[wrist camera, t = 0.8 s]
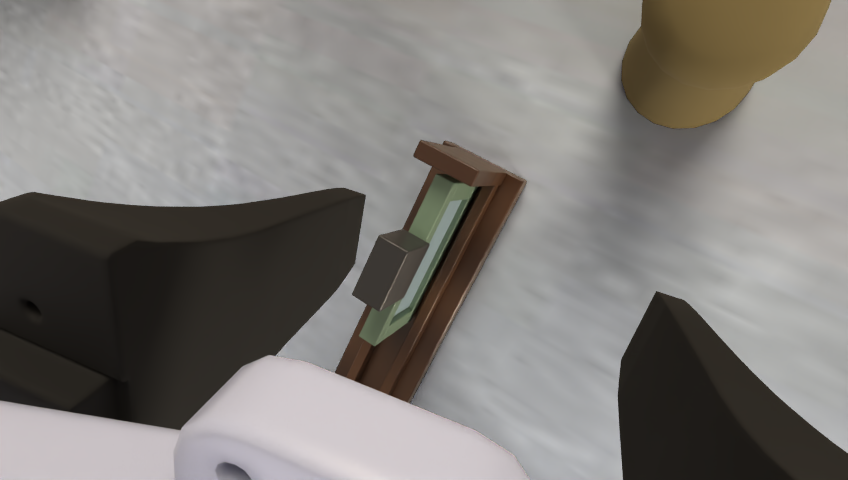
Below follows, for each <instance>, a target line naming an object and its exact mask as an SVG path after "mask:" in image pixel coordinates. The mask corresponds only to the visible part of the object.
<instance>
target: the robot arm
mask: <svg viewBox="0 0 848 480" xmlns="http://www.w3.org/2000/svg"><path fill="white" fill-rule="evenodd" d="M365 197H366V195H364V194H361V193H358V192H355V191H352V190H349V189H346V188H333V189H326V190H320V191H315V192H309V193H304V194H299V195H294V196H288V197H283V198H277V199H270V200H264V201H257V202H250V203H243V204H234V205H222V206H205V207H155V206H138V205H125V204H114V203H104V202H95V201H88V200H81V199H74V198H68V197H61V196H55V195H48V194H42V193H37V192H30V193H25V194H22V195H19V196H16V197H13V198H10V199H7V200H4V201H1V202H0V480H530V478H529V477H528V475H527V474H526V472H525V471H524V469H523V468H522V466H521V464H520V463H519V461H518V460H517V458H516V457H515V456H514V455H513V454H512V453H510V452H509V451H507V450H505V449H504V448H502V447H501V446H499V445H498V444H496V443H495V442H493V441H492V440H490V439H488V438H487V437H485V436H484V435H482V434H481V433H479V432H478V431H476V430H474V429H471V428H469V427H466V426H464V425H461V424H459V423H456V422H454V421H451V420H449V419H447V418H444V417H442V416H439V415H437V414H434V413H432V412H429V411H427V410H424V409H422V408H419V407H417V406H415V405H412V404H410V403H407V402H405V401H402V400H400V399H397V398H395V397H392V396H390V395H388V394H385V393H383V392H380V391H378V390H375V389H373V388H370V387H368V386H365V385H363V384H360V383H358V382H356V381H353V380H351V379H348V378H346V377H343V376H341V375H338V374H336V373H333V372H331V371H328V370H326V369H324V368H321V367H319V366H316V365H314V364H311V363H309V362H306V361H300V360H294V359H289V358H283V357H277V356H275V355H276V354H277V353H278V352H279V351H280V350H281V349H282V347H283V346H284V345H285V344H286V343H287V342H288V341H289V340H290V339H291V338H292V337H293V336H294V335H295V334H296V333H297V332H298V330H299V329H300V328H301V327H302V326H303V325H304V324H305V323H306V322H307V321H308V320H309V319H310V318H311V317H312V316H313V315H314V314H315V313H316V312H317V311H318V310H319V309H320V307H321V306H322V305H323V304H324V303H325V302H326V301H327V300H328V299H329V298H330V297H331V296H332V295H333V293H334V292H335V291H336V290H337V289H338V287H339V286H340V285H341V283H342V282H343V280H344V279H345V277H346V276H347V274H348V273H349V271H350V270H351V268H352V267H353V265H354V264H355V259H356V253H357V247H358V241H359V234H360V228H361V222H362V216H363V209H364V203H365ZM618 408H619V426H620V440H621V455H622V470H623V480H848V453H846V452H845V451H844V450H842V449H841V448H840V447H838V446H837V445H836V444H834V443H833V442H832V441H830V440H829V439H828V438H826V437H825V436H824V435H823V434H821V433H820V432H819V431H817V430H816V429H815V428H814V427H813V426H811V425H810V424H809V423H808V422H807V421H805V420H804V419H803V418H802V417H801V416H800V415H798V414H797V413H796V412H795V411H794V410H792V409H791V408H790V407H789V406H788V405H787V404H785V403H784V402H783V401H782V400H781V399H780V398H779V397H778V396H777V395H775V394H774V393H773V392H772V391H771V390H770V389H769V388H768V387H767V386H766V385H765V384H764V383H763V382H762V381H761V380H760V379H759V378H758V377H757V376H756V375H755V374H754V373H753V372H752V371H751V370H750V369H749V368H748V367H747V366H746V365H745V364H744V363H743V362H742V361H741V360H740V359H739V358H738V357H737V356H736V355H735V354H734V352H733V351H732V350H731V349H730V348H729V347H728V346H727V345H726V344H725V343H724V342H723V340H722V339H721V338H720V337H719V336H718V335H717V334H716V333H715V332H714V330H713V329H712V328H711V327H710V326H709V325H708V324H707V323H706V322H705V320H704V319H703V318H702V317H701V316H700V315H699V314H698V313H697V312H696V311H695V310H694V309H693V308H692V307H691V306H690V305H689V304H688V303H687V302H686V301H684V300H682V299H679V298H675V297H672V296H669V295H666V294H663V293H660V292H657V291H656V293H655V295H654V297H653V299H652V301H651V303H650V304H649V306H648V308H647V310H646V312H645V314H644V316H643V318H642V320H641V322H640V324H639V326H638V328H637V330H636V332H635V334H634V336H633V338H632V340H631V342H630V344H629V345H628V347H627V349H626V351H625V353H624V355H623V357H622V359H621V368H620V377H619V388H618Z"/></svg>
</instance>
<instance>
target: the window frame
mask: <svg viewBox="0 0 848 480" xmlns="http://www.w3.org/2000/svg"><path fill="white" fill-rule="evenodd" d="M414 157H415V158H417V159H419V160H421V161H423V162H425V163H426V164H428V165H430V166H432V168H431V170H430V172H429V174H428V176H427V178H426V181H425V183H424V185H423V187H422V189H421V191H420V193H419V195H418V197H417V200H416V202H415V204H414V206H413V208H412V210H411V212H410V214H409V217H408V219H407V221H406V223H405V225H404V227H403V229H405V230H406V231H409V229H410V227H411V225H412V223H413V221H414V219H415V217H416V215H417V213H418V210H419V208H420V206H421V204H422V202H423V200H424V198H425V196H426V194H427V192H428V189H429V187H430V185H431V183H432V181H433V179H434V177H435V175H436V174H447V175H449V176H451V177H453V178H455V179H457V180H459V181H460V182H462V183H464V184H466V185H468V186H470V187H478V186H479V187H478V189H477V191H476V193H475V195H474V197H473V199H472V201H471V203H470V205H469V207H468V208H467V210H466V212H465V214H464V216H463V218H462V220H461V222H460V224H459V226H458V228H457V230H456V232H455V234H454V236H453V238H452V240H451V242H450V244H449V246H448V248H447V250H446V252H445V254H444V256H443V258H442V260H441V262H440V264H439V266H438V268H437V270H436V272H435V274H434V276H433V278H432V280H431V282H430V284H429V286H428V288H427V290H426V292H425V294H424V296H423V298H422V300H421V302H420V304H419V306H418V308H417V310H416V312H415V314H414V316H413V318H412V320H411V321H410V322H408V323H407V324H405V325H404V326H402V327H401V328H400V329H398V330H397V331H395V332H394V333H393V334H391V335H390V336H388V337H387V338H386V339H384V340H383V341H381V342H380V343H379V344H377V345H376V346H373V345H372V344H370V343H368V342H367V341H365V340H364V339H362V338H361V337H359V334H360V332H361V330H362V328H363V326H364V324H365V322H366V320H367V318H368V316H369V313H370V311H371V309H372V307H371V306H369V305H367V306H366V308H365V310H364V312H363V314H362V316H361V318H360V320H359V322H358V325H357V327H356V329H355V331H354V333H353V335H352V337H351V339H350V342H349V344H348V346H347V348H346V350H345V352H344V354H343V356H342V359H341V361H340V363H339V365H338V367H337V369H336V371H335V373H336V374H338V375H341V376H343V377H346V378H348V379H351V380H353V381H356V382H358V383H360V384H363V385H365V386H368V387H370V388H373V389H375V390H378V391H380V392H383V393H385V394H388V395H390V396H392V397H395V398H397V399H400V400H402V401H405V402H407V403H410V402H411V400H412V398H413V396H414V394H415V393H416V391H417V389H418V387H419V385H420V383H421V381H422V379H423V377H424V376H425V374H426V372H427V370H428V368H429V366H430V364H431V362H432V360H433V359H434V357H435V355H436V353H437V351H438V349H439V347H440V345H441V343H442V342H443V340H444V338H445V336H446V334H447V332H448V330H449V328H450V326H451V325H452V323H453V321H454V319H455V317H456V315H457V313H458V311H459V309H460V307H461V306H462V304H463V302H464V300H465V298H466V296H467V294H468V292H469V290H470V289H471V287H472V285H473V283H474V281H475V279H476V277H477V275H478V273H479V272H480V270H481V268H482V266H483V264H484V262H485V260H486V258H487V256H488V255H489V253H490V251H491V249H492V247H493V245H494V243H495V241H496V239H497V238H498V236H499V234H500V232H501V230H502V228H503V226H504V224H505V222H506V221H507V219H508V217H509V215H510V213H511V211H512V209H513V207H514V205H515V204H516V202H517V200H518V198H519V196H520V194H521V192H522V190H523V188H524V186H525V185H526V183H527V181H526V180H525V179H523V178H521V177H519V176H517V175H515V174H513V173H511V172H509V171H507V170H505V169H503V168H501V167H499V166H497V165H495V164H493V163H491V162H489V161H487V160H485V159H483V158H481V157H479V156H477V155H476V154H474V153H472V152H470V151H468V150H466V149H464V148H462V147H460V146H458V145H456V144H454V143H452V142H449V141H444V142H443V144H437V143H432V142H427V141H423V140H421V141H420V142H419V144H418V146H417V148H416V151H415V153H414ZM403 229H402V230H403Z"/></svg>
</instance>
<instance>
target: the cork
mask: <svg viewBox="0 0 848 480" xmlns="http://www.w3.org/2000/svg"><path fill="white" fill-rule="evenodd" d="M830 3H831V0H643V3H642V20H641V27H640V28H639V30H638V31H637V32H636V34H635V35H634V36H633V38H632V39H631V40H630V42H629V44H628V47H627V50H626V52H625V55H624V58H623V60H622V83H623V87H624V90H625V93H626V97H627V99H628V100H629V101H630V103H631V104H632V105H633V107H634V108H635V109H636V111H637V112H638V113H639V114H641V115H642V116H644V117H645V118H647V119H648V120H650V121H651V122H653V123H655V124H659V125H662V126H666V127H669V128H673V129H674V128H696V127H699V126H702V125H705V124H708V123H711V122H714V121H717V120H718V119H720V118H721V117H723V116H724V115H726V114H727V113H729V112H730V111H732V110H733V109H735V107H736V106H737V105H738V104H739V103H740V102H741V100H742V99H743V98H744V97H745V96H746V95H747V93H748V92H749V91H750V89H751V88H752V86H753V84H754V83H755V82H757V81H760V80H763V79H765V78H767V77H769V76H770V75H772V74H773V73H775V72H776V71H778V70H779V69H781V68H782V67H784V66H785V65H787V64H788V63H790V62H791V61H793V60H794V59H796V58H797V57H798V55H799V54H800V53H801V52H802V51H803V50H804V48H805V47H806V46H807V45H808V44H809V43H810V42H811V40H812V39H813V38H814V37H815V36H816V35H817V32H818V30H819V28H820V26H821V24H822V21H823V19H824V17H825V15H826V12H827V10H828V8H829V5H830Z"/></svg>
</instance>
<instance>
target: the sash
mask: <svg viewBox="0 0 848 480" xmlns="http://www.w3.org/2000/svg"><path fill="white" fill-rule="evenodd" d="M478 187H479V186H478ZM478 187H470V186H468V185H466V184H464V183H462V182H460V181H459V180H457V179H455V178H453V177H451V176H449V175H447V174H436V175H435V177H434V179H433V181H432V183H431V185H430V187H429V189H428V192H427V194H426V196H425V198H424V200H423V202H422V204H421V206H420V208H419V210H418V213H417V215H416V217H415V219H414V221H413V223H412V225H411V227H410V229H409V231H406V230H405V229H403V230H399V231H394V232H390V233H386V234H382V235H379V236H378V239H377V241H376V243H375V245H374V247H373V250H372V252H371V254H370V256H369V258H368V260H367V263H366V265H365V267H364V269H363V271H362V273H361V276H360V278H359V280H358V282H357V284H356V286H355V289H354V291H353V293H352V295H353V296H355V297H356V298H358V299H359V300H361V301H363V302H364V303H366V304H367V305H369V306H371V307H372V309H371V311H370V313H369V316H368V318H367V320H366V322H365V324H364V326H363V328H362V330H361V332H360V334H359V337H361V338H362V339H364V340H365V341H367V342H368V343H370V344H372V345H373V346H376V345H377V344H379V343H380V342H381V341H383V340H384V339H386V338H387V337H388V336H390V335H391V334H393V333H394V332H395V331H397V330H398V329H400V328H401V327H402V326H404V325H405V324H407V323H408V322H410V321H411V320H412V318H413V316H414V314H415V312H416V310H417V308H418V306H419V304H420V302H421V300H422V298H423V296H424V294H425V292H426V290H427V288H428V286H429V284H430V282H431V280H432V278H433V276H434V274H435V272H436V270H437V268H438V266H439V264H440V262H441V260H442V258H443V256H444V254H445V252H446V250H447V248H448V246H449V244H450V242H451V240H452V238H453V236H454V234H455V232H456V230H457V228H458V226H459V224H460V222H461V220H462V218H463V216H464V214H465V212H466V210H467V208H468V207H469V205H470V203H471V201H472V199H473V197H474V195H475V193H476V191H477V189H478Z"/></svg>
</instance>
